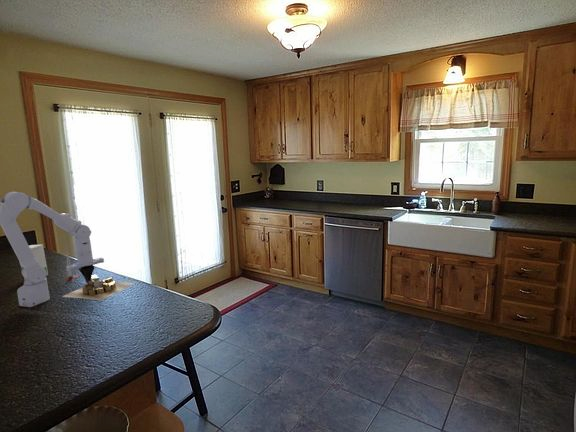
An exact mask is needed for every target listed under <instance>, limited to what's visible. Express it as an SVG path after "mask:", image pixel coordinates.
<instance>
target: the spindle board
mask: <svg viewBox="0 0 576 432" xmlns="http://www.w3.org/2000/svg"><path fill="white" fill-rule="evenodd" d="M103 280H104V279H102V280H101V279H99V281H95V282H94V287H101V286H102V284H103V283H104V282H103ZM134 284H135V282H134V283H133V282H124V281H123V282H122V281H115V285H116V287H115V288H114V289H113V290H111V291H108V292H104V293H102V294H96V295H86V294H83V289H82V287H80V288H77V289H76V290H74V291H71V292H69V293H67V294H65V295H62V297H63V298H72V299H73V298H75V299H85V300H93V301H95V300H96V301H103V300H106V299H107V298H109V297H112V296H114V295H115V294H117V293H120V292H122V291H123V290H125V289H127V288H129V287H131V286H133V285H134Z"/></svg>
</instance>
